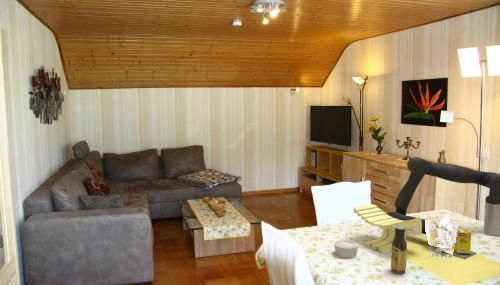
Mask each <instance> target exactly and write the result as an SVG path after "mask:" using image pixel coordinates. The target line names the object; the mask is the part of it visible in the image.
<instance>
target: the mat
mask: <svg viewBox="0 0 500 285" xmlns="http://www.w3.org/2000/svg"><path fill="white" fill-rule="evenodd" d="M476 254H477V252H475V251H472V250H470V255H457V254H456V253H455V252H453V256H452V257H456V258H460V259H462V260H466V259H468V258H470V257H473V256H474V255H476Z"/></svg>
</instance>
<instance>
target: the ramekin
mask: <svg viewBox="0 0 500 285" xmlns="http://www.w3.org/2000/svg"><path fill="white" fill-rule="evenodd" d="M333 246H334V251H335V252H334V253H335V254H336V255H337V256H338V257H340V258H343V259H351V258H355V256H357V251H358V248H359V244H358V243H356V242H354V241H353V240H352V241H351V240H337V241H335V242H334V244H333Z"/></svg>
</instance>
